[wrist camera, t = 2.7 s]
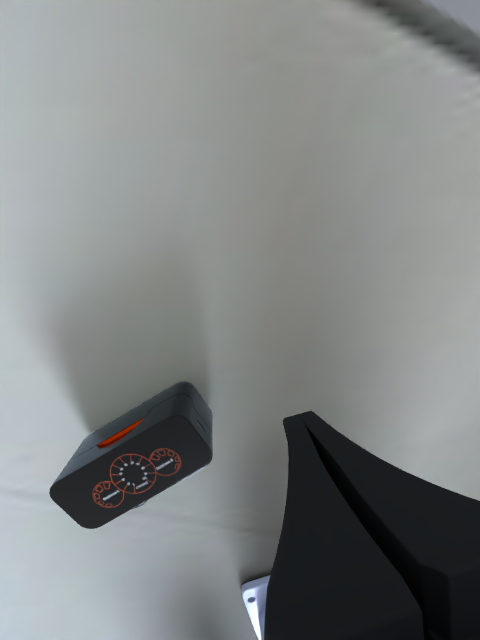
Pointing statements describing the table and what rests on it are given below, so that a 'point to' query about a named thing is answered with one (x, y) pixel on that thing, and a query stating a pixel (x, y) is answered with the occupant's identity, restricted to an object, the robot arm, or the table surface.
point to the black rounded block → (136, 457)
